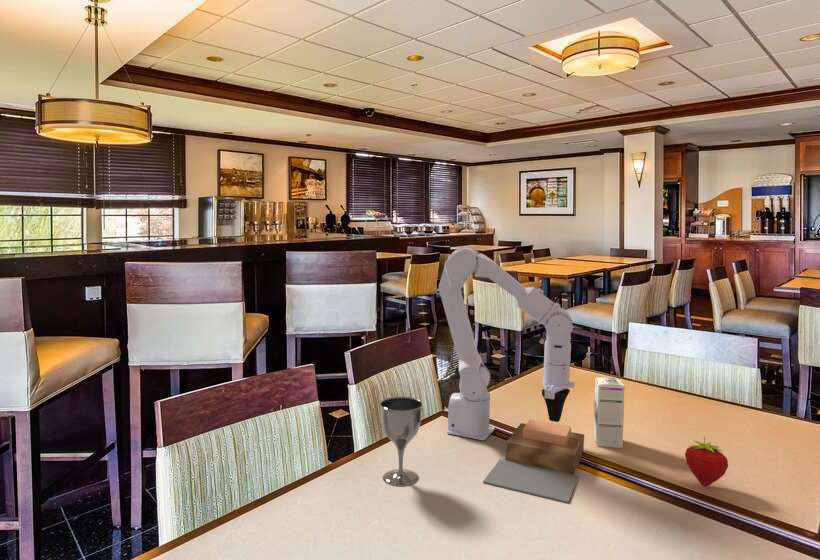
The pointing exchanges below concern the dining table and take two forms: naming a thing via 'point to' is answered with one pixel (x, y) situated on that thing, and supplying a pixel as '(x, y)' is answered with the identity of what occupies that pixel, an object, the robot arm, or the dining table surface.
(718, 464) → the strawberry
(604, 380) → the syrup box
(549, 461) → the brown box
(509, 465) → the mat
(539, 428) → the peach rectangular box
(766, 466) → the dining table surface
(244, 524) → the dining table surface
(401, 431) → the wine glass
